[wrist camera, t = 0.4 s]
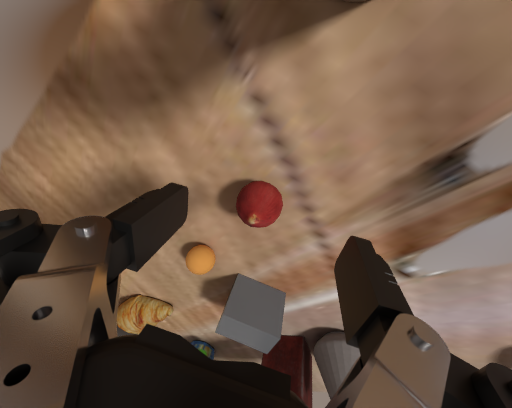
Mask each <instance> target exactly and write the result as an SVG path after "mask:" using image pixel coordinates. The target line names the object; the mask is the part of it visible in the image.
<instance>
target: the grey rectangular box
mask: <svg viewBox="0 0 512 408" xmlns="http://www.w3.org/2000/svg"><path fill="white" fill-rule="evenodd" d="M285 296H286V293H285V292H282V291H280V290H277V289H275V288H273V287H270V286H268V285H265V284H263V283H260V282H258V281H256V280H253V279H251V278H248V277H246V276H244V275H241V274H239V273H238V276H237V278H236V280H235V283H234V285H233V287H232V290H231V292H230V295H229V297H228V300H227V303H226V305H225V308H224V310H223V313H222V316H221V318H220V321H219V323H218V326H217V329H216V331H215V332H216V333H218V334H220V335H223V336H225V337H227V338H230V339H232V340H234V341H237V342H239V343H242V344H244V345H246V346H249V347H251V348H253V349H256V350H258V351H260V352H263V353H265V354H268V353H269V351H270V350H271V349H272V348H273V347H274V346H275V345H276V343H277V342H278V341H279V340H280V339H281V330H282V322H283V313H284V305H285Z"/></svg>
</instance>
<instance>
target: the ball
mask: <svg viewBox="0 0 512 408" xmlns="http://www.w3.org/2000/svg"><path fill="white" fill-rule="evenodd" d="M214 264H215V254H214V252H213V250H212V249H211V248H210V247H208V246H205V245H198V246H195V247H193V248H192V249H191V250H190V251H189V252H188V254H187V256H186V265H187V268H188V269H189V270H190V271H191V272H192V273H194V274H198V275H201V274H205V273H207V272H209V271H210V270H211V269H212V268H213V266H214Z"/></svg>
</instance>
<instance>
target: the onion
mask: <svg viewBox="0 0 512 408" xmlns="http://www.w3.org/2000/svg"><path fill="white" fill-rule="evenodd" d="M282 207H283V202H282V196H281V194H280V192H279V191H278V190H277V188H276V187H274V186H273V185H271V184H270V183H267V182H263V181H253V182H251V183H249V184H248V185H246V186H244V187H243V188H242V190H241V191H240V193H239V195H238V197H237V202H236V208H237V212H238V215H239V217H240V218H241V220H242V221H243V222H244V223H245V224H247V225H249V226H250V227H257V228H259V227H267V226H269V225H270V224H272V223H274V222H275V221H276V219H277V218H278V217H279V216H280V213H281V210H282Z"/></svg>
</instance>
